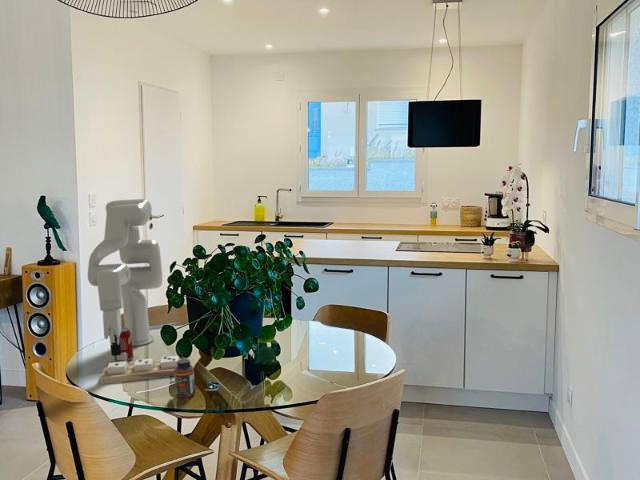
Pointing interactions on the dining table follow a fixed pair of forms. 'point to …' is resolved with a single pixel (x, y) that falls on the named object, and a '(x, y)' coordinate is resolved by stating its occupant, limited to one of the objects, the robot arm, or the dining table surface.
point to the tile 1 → (117, 367)
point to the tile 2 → (143, 365)
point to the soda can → (125, 346)
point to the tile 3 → (169, 362)
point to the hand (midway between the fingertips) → (116, 354)
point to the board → (137, 373)
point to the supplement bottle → (184, 379)
